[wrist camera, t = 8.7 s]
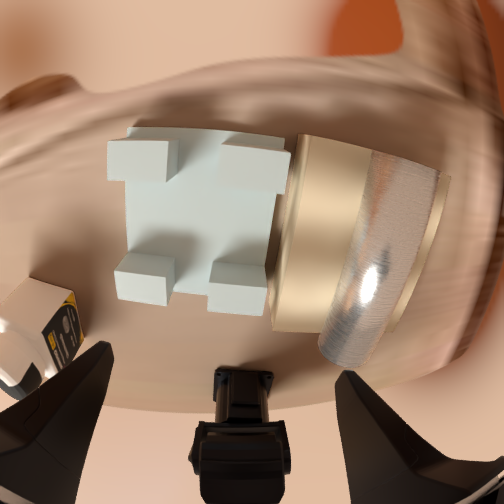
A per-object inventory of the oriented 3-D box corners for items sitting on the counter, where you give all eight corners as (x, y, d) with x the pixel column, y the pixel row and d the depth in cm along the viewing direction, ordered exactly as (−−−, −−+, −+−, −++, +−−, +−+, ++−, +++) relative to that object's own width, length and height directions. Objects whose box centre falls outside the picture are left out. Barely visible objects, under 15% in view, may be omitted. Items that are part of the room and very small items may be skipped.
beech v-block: (376, 305, 25) (393, 332, 21) (268, 300, 24) (272, 330, 20) (421, 165, 19) (451, 176, 15) (298, 133, 18) (312, 135, 14)
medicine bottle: (85, 339, 26) (44, 420, 15) (40, 323, 25) (-4, 392, 14) (74, 289, 23) (14, 376, 12) (27, 275, 22) (-35, 344, 11)
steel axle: (359, 327, 21) (378, 365, 17) (311, 328, 21) (325, 369, 17) (413, 162, 15) (455, 177, 11) (360, 146, 15) (397, 156, 11)
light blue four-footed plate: (258, 294, 23) (260, 323, 20) (134, 280, 22) (119, 306, 19) (283, 137, 18) (292, 140, 14) (131, 127, 17) (108, 129, 13)
